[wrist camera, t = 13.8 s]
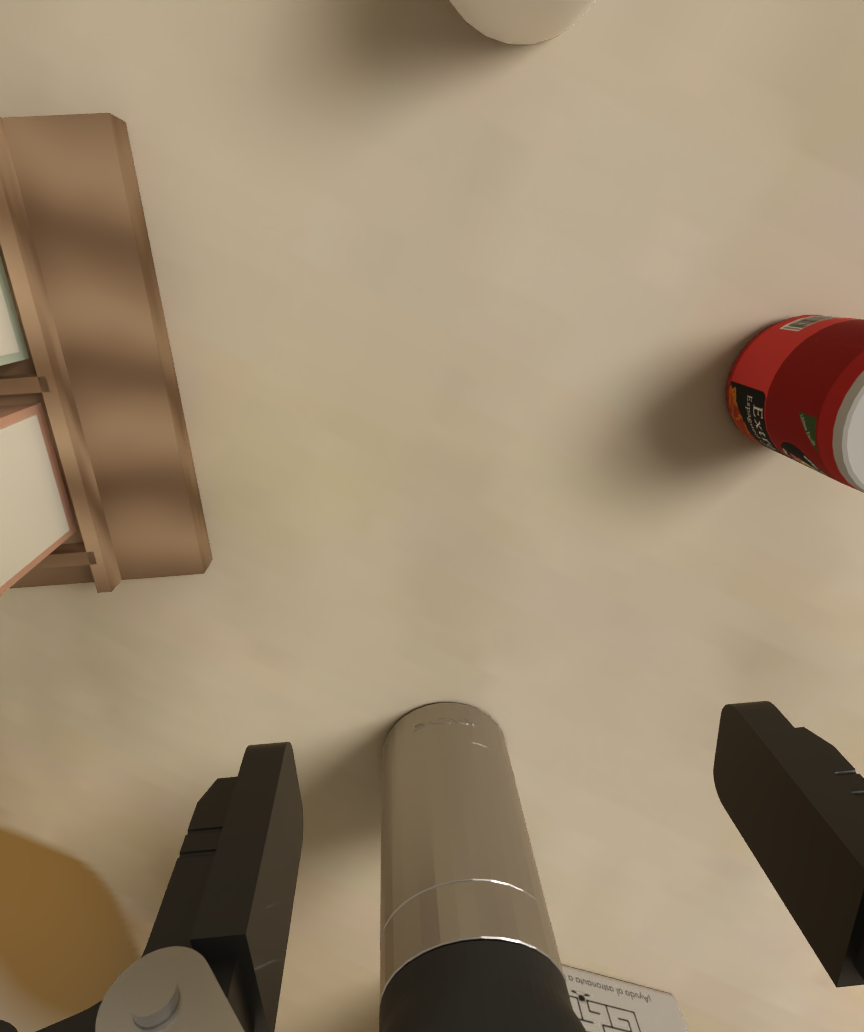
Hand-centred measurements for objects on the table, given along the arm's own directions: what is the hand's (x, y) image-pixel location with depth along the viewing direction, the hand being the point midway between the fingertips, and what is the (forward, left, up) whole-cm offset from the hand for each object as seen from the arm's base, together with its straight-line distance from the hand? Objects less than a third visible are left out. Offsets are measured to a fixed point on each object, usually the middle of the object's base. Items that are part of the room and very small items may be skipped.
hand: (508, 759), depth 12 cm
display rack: (+4, +21, -28) cm, 35 cm away
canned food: (+1, -22, -28) cm, 36 cm away
